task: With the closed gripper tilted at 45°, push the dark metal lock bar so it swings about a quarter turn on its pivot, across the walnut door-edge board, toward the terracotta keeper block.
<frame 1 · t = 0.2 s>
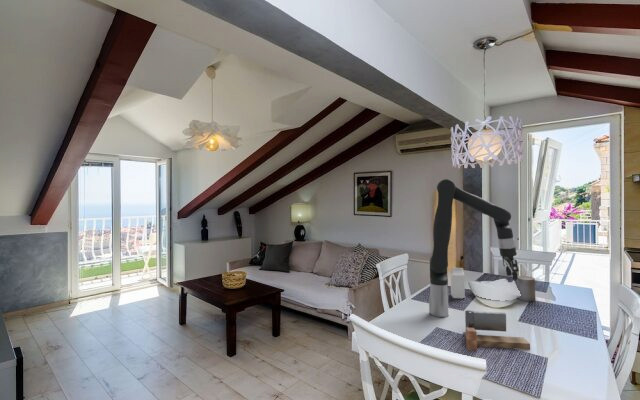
hand: (512, 277, 164), 23 cm above the table, tool pointing down, fingers open, 8 cm apart
lock bar: (485, 323, 146), point 6 cm above the table, hinge at 0.0°
cereal bowl: (492, 295, 208), on the table
milk carton: (457, 297, 205), on the table
door edge: (469, 335, 147), on the table
pillar candle: (526, 299, 198), on the table
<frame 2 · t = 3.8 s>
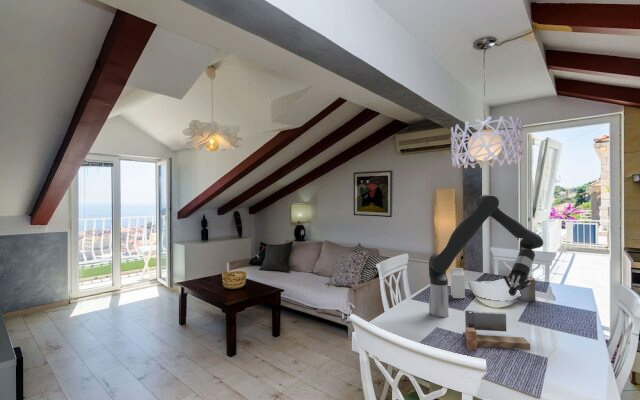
hand: (511, 294, 156), 16 cm above the table, tool tilted 45°, fingers closed
nothing on the table moved.
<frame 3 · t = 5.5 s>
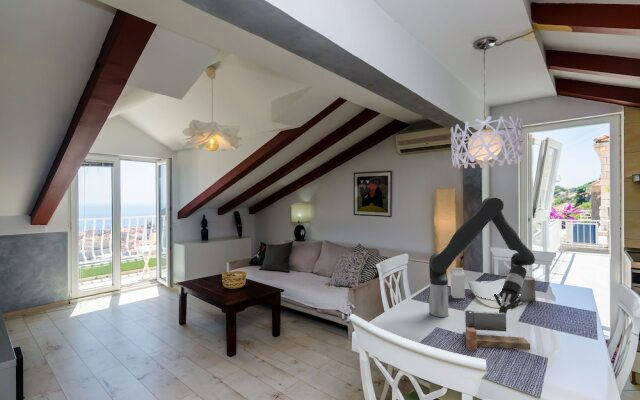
hand: (501, 314, 151), 8 cm above the table, tool tilted 45°, fingers closed
nothing on the table moved.
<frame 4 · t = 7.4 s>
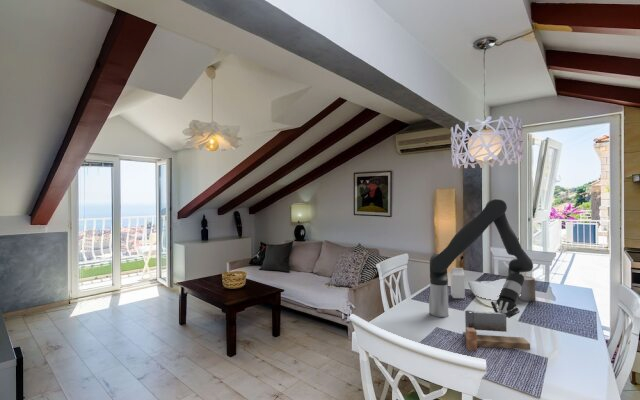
hand: (498, 323, 147), 6 cm above the table, tool tilted 45°, fingers closed
lock bar: (485, 323, 146), point 6 cm above the table, hinge at -1.1°, touching gripper
everything else where it was.
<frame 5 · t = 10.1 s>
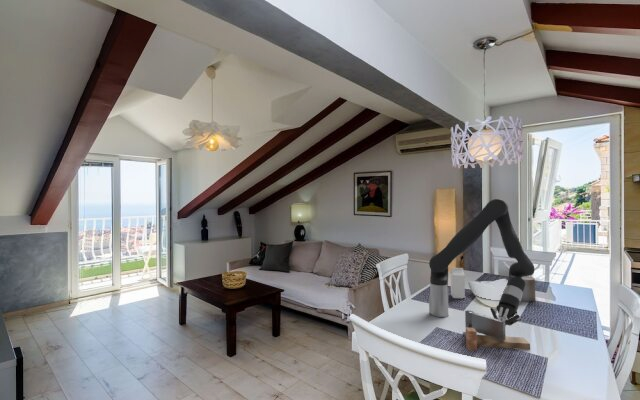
hand: (498, 331, 138), 6 cm above the table, tool tilted 45°, fingers closed
lock bar: (484, 327, 142), point 6 cm above the table, hinge at -44.3°, touching gripper
everything else where it was.
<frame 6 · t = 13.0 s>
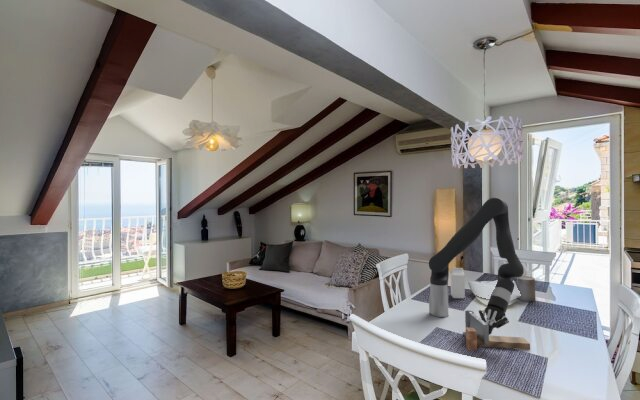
hand: (486, 333, 135), 6 cm above the table, tool tilted 45°, fingers closed
lock bar: (476, 328, 141), point 6 cm above the table, hinge at -80.4°, touching gripper
everything else where it was.
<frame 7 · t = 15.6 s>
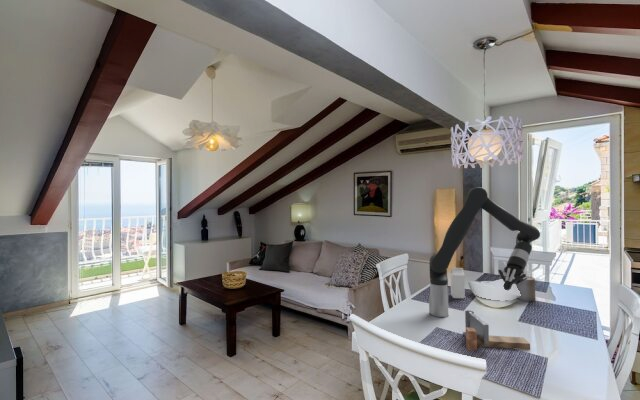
hand: (506, 289, 148), 21 cm above the table, tool tilted 45°, fingers closed
lock bar: (476, 328, 141), point 6 cm above the table, hinge at -80.5°
everything else where it was.
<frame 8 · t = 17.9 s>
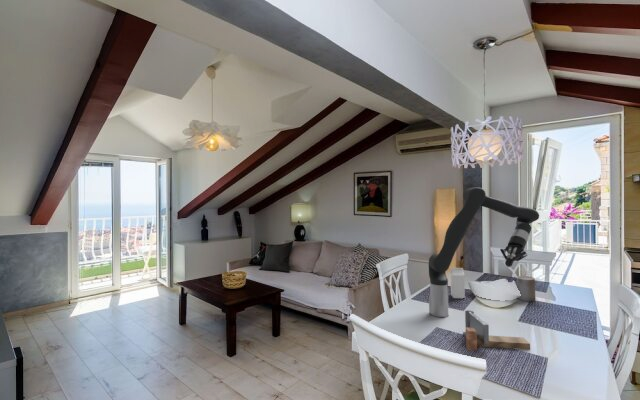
hand: (507, 265, 159), 30 cm above the table, tool tilted 45°, fingers closed
nothing on the table moved.
at the end: lock bar at -80° (first picture: +0°) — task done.
